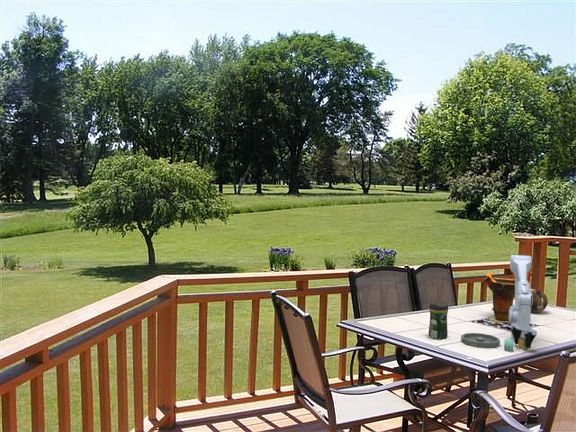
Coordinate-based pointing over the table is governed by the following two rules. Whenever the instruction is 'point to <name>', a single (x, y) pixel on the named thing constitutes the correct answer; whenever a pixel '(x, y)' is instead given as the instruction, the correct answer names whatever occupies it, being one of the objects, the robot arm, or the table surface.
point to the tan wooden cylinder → (522, 343)
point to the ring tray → (480, 340)
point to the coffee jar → (438, 320)
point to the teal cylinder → (508, 345)
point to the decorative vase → (500, 297)
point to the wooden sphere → (538, 301)
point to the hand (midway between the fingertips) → (522, 345)
